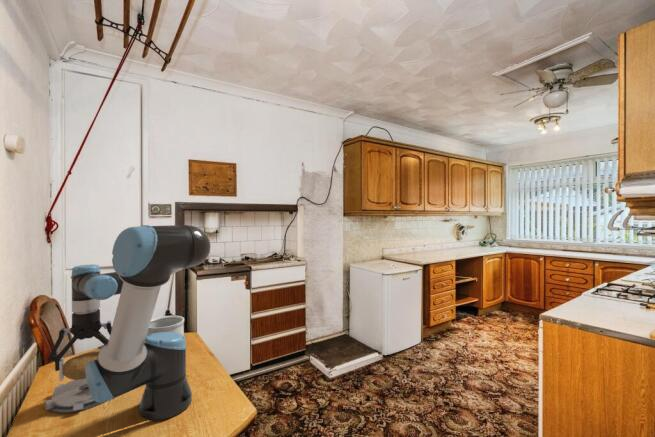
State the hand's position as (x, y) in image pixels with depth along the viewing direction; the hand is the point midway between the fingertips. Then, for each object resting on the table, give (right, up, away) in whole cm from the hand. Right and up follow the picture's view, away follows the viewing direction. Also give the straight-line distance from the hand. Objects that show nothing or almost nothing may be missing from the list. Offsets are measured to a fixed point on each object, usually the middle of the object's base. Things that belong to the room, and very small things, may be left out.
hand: (86, 373), depth 103 cm
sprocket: (0, -7, +1) cm, 7 cm away
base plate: (0, -8, +1) cm, 8 cm away
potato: (0, -1, +1) cm, 1 cm away
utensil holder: (+14, -8, +24) cm, 29 cm away
